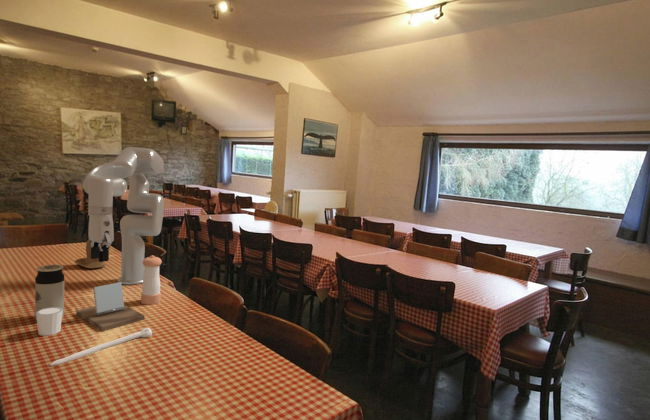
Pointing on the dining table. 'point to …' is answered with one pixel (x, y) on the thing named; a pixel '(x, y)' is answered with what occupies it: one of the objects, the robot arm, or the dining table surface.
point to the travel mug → (49, 287)
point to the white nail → (104, 346)
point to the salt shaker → (151, 281)
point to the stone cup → (88, 261)
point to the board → (110, 317)
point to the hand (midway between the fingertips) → (99, 259)
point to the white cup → (49, 320)
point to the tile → (108, 298)
